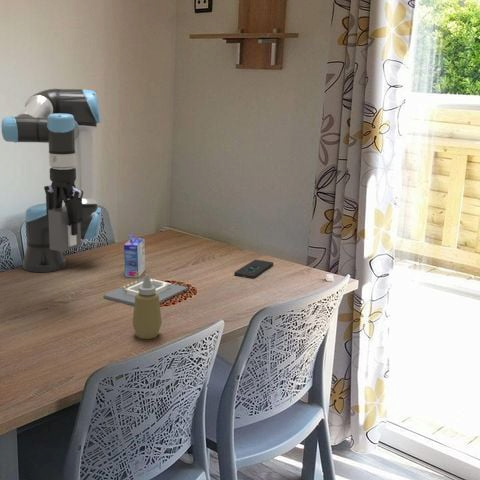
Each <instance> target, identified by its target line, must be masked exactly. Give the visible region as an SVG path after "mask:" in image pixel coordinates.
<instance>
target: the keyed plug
mask: <svg viewBox="0 0 480 480" xmlns="http://www.w3.org/2000/svg"><path fill="white" fill-rule="evenodd" d="M48 219H49V241H50V249H52V250H56V251H60V252H62V253H64V252H66V251H70V250H72V249H76V248H78V247H81V246H82V239H81V227H80V223H78V225H77V228H78V234H77V235H76V239H77V244H76V245H73V246H68V224H70V222H69V218H68V211H67V209H66V206H65V205H64V206H62V207H61V208H56V209H51V210H48ZM73 221H74V220H73Z"/></svg>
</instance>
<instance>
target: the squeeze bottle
mask: <svg viewBox="0 0 480 480" xmlns="http://www.w3.org/2000/svg"><path fill="white" fill-rule="evenodd" d="M143 279H144V281H143V285H141V286H139V293H138V294H137V295H136V296H135V303H134V306H133V314H132V326H133V328H134V332H135V334H136V335H135V336H136V337H137V338H139V339H141V340H142V339H143V340H152V339H154V338H156V337H158V334H159V332H160V329H161V326H162V323H163V322H162V313H161V304H160V302H159V295H158V294H156V287H155V286H153V285H151V280H150V279H151V275H150V273H145V274H144V277H143Z"/></svg>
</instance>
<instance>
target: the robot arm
mask: <svg viewBox="0 0 480 480" xmlns="http://www.w3.org/2000/svg"><path fill="white" fill-rule="evenodd" d="M98 98H99V97H98V94H97V93H96V91H94V90H91V89H83V88H82V89H81V88H80V89H79V88H78V89H76V88H74V89H73V88H70V89H69V88H67V89H66V88H49V89H44V90H42V91H39V92H36V93H34V94H32V95H31V96H30V97H28V99H27V100H26V102H25V103H24V108H23V109H22V110H21V111H20V112H19V113H18V115H17V116H12V115H11V116H4V117H3V118H2V120H1V136H2V139H3V140H4V141H5V142H9V143H11V142H12V143H15V144H16V143H42V144H44V143H45V144H46V143H47V144H48V159H49V161H48V162H49V167H50V168H49V180H50V181H51V184H50V185H45V186H44V187H43V189H44V192H45V202H43V203H38V204H34V205H31V206H29V207H28V208H26V210H25V219H24V222H25V234H26V236H25V237H26V250H25V254H24V258H23V260H22V269H23V270H25V271H28V272H33V273H49V272H55V271H59V270H62V269H64V268H65V267H66V257H65V256H64V254H63V253H64V252H60V251H56V250H52V249H50V241H49V219H48V210H51V209H56V208H61V207H63V203H64V206H66V209H67V211H68V218H69V222H70V224H68V246H73V245H76V244H77V239H76V235H77V234H78V228H77V225H78V223H80V227H81V240H84V241H86V240H94V239H97V238H98V236H99V234H100V233H99V232H100V227H101V220H102V208H101V207H98V202H97V201H96V200H95V199H94V171H93V169H94V168H93V166H94V165H93V162H94V161H93V158H94V156H93V147H94V146H93V133H94V132H95V130H96V129H98V128H97V127H98V125H97V124H101V121H102V119H101V112H100V111H101V109H100V103H99V99H98ZM73 220H74V221H73Z"/></svg>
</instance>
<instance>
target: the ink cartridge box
mask: <svg viewBox="0 0 480 480" xmlns="http://www.w3.org/2000/svg"><path fill="white" fill-rule="evenodd" d="M128 238H129V240H128V241H126V242H125V243H124V244H123V258H124V259H123V260H124V276H125V278H135V279H138V278H140V277H141V275H143V273H144V272H145V271H146V252H145V248H146V247H145V246H146V245H145V238H140V237H138V238H137V237H134V235H133V233H131V234H129V235H128Z"/></svg>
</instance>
